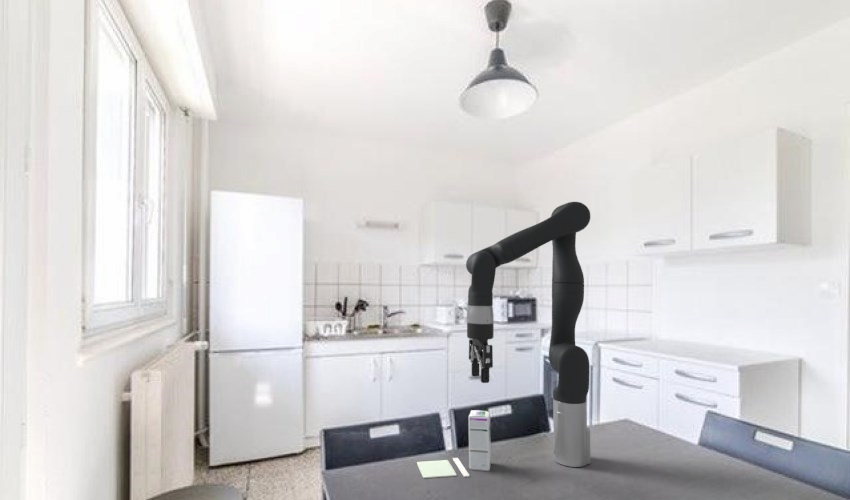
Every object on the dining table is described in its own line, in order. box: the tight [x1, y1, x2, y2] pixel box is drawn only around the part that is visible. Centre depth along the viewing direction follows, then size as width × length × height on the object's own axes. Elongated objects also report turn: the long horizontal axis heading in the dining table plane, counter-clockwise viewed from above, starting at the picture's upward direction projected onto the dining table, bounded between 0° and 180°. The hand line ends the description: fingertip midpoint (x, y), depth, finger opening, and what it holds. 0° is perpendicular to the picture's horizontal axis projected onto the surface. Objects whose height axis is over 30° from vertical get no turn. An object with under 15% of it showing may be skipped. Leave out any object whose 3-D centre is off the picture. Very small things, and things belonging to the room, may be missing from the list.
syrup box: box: [468, 409, 492, 472], centre depth 122 cm, size 6×6×14 cm
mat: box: [416, 459, 457, 479], centre depth 119 cm, size 9×10×1 cm
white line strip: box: [452, 457, 470, 478], centre depth 121 cm, size 2×12×1 cm, turn 11°
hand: (480, 379), depth 124 cm, fingers open, 8 cm apart
